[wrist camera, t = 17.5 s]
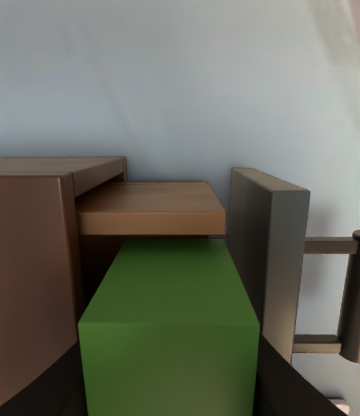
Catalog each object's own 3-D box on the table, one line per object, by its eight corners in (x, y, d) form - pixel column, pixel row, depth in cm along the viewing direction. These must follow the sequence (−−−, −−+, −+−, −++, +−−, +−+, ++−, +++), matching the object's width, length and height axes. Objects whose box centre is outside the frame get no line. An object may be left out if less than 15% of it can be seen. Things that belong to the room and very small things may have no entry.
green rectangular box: (219, 376, 12) (244, 537, 7) (133, 376, 12) (100, 536, 7) (224, 238, 10) (260, 323, 6) (125, 238, 10) (76, 323, 6)
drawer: (344, 167, 15) (476, 189, 8) (320, 339, 17) (405, 461, 11) (16, 168, 15) (-117, 191, 8) (41, 338, 18) (-44, 458, 11)
